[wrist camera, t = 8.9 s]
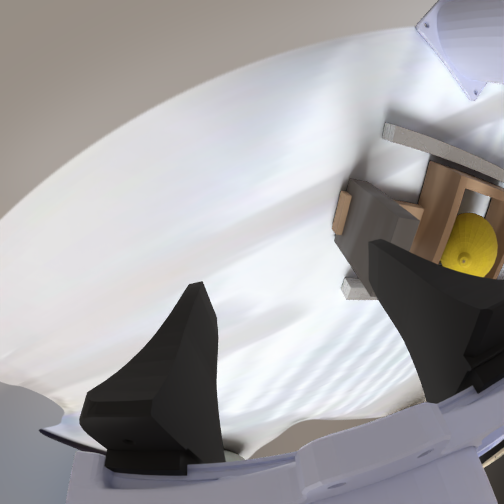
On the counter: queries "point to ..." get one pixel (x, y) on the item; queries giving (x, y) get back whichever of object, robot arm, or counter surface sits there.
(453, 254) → the lemon
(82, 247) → the counter surface
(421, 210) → the wooden tray
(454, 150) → the lane rails
